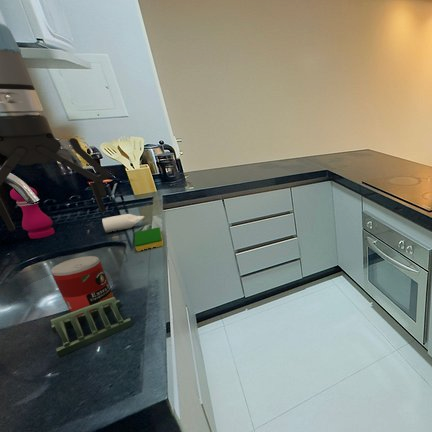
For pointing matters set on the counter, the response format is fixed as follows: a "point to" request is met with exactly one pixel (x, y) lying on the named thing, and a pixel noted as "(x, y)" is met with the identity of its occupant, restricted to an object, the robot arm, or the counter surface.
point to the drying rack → (96, 335)
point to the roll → (120, 222)
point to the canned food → (82, 282)
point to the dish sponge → (148, 239)
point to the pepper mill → (33, 218)
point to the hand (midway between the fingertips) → (61, 219)
